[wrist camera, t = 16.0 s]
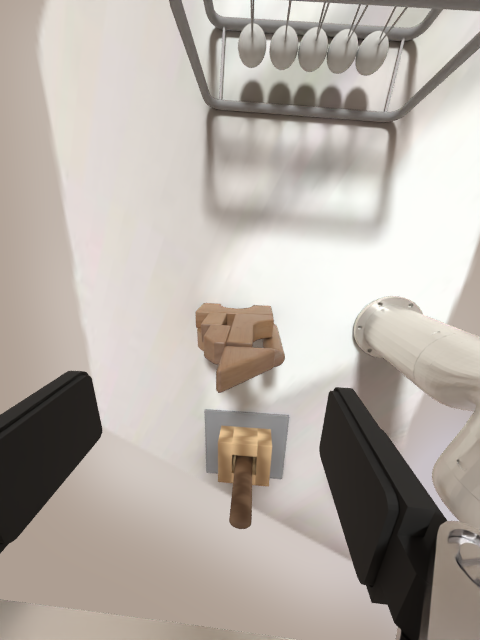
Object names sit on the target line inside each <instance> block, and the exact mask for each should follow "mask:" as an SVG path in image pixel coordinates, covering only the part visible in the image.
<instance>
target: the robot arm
mask: <svg viewBox="0 0 480 640" xmlns="http://www.w3.org/2000/svg"><path fill="white" fill-rule="evenodd" d="M378 303H379V304H378ZM358 326H359V327H358ZM354 338H355V341H356V343H357V344H358V346H359V347H360V348H361V349H362V350H363V351H364V352H366V353H367V354H369V355H371V356H374V357H378V358H385V359H386V360H387V361H388V362H389V363H390V364H392V365H393V366H394V367H395V368H396V369H397V370H399V371H400V372H401V373H402V374H403V375H405V376H406V377H407V378H408V379H409V380H410V381H412V382H413V383H414V384H415V385H416V386H417V387H419V388H420V389H421V390H422V391H423V392H425V393H426V394H427V395H428V396H430V397H431V398H432V399H434V400H436V401H438V402H439V403H441V404H444V405H446V406H449V407H452V408H457V409H461V410H468V411H474V413H473V414H472V416H471V417H470V418H469V420H468V421H467V423H466V425H465V426H464V427H463V428H462V430H461V431H460V432H459V433H458V435H457V436H456V437H455V438H454V439H453V441H452V442H451V443H450V444H449V446H448V447H447V448H446V449H445V450H444V452H443V453H442V454H441V456H440V457H439V458H438V460H437V461H436V463H435V465H434V467H433V471H432V480H433V484H434V487H435V489H436V491H437V493H438V495H439V496H440V498H441V500H442V501H443V502H444V504H445V505H446V506H447V508H448V509H449V510H450V511H451V512H452V514H454V516H455V517H456V518H457V519H458V520H459V521H460V522H459V521H447V520H446V518H445V517H444V515H443V514H442V513H441V511H440V510H439V508H438V507H437V505H436V504H435V503H434V501H433V500H432V498H431V497H430V495H429V494H428V493H427V491H426V490H425V488H424V487H423V485H422V484H421V483H420V481H419V480H418V479H417V477H416V475H415V474H414V473H413V471H412V470H411V468H410V467H409V465H408V464H407V463H406V461H405V460H404V458H403V457H402V456H401V454H400V453H399V451H398V450H397V448H396V447H395V446H394V444H393V443H392V441H391V440H390V438H389V437H388V436H387V434H386V433H385V432H384V431H383V430H382V429H380V427H379V426H378V424H377V423H376V422H375V420H374V419H373V417H372V416H371V414H370V413H369V411H368V410H367V409H366V407H365V406H364V404H363V403H362V401H361V400H360V398H359V397H358V395H357V394H356V393H355V391H354V390H353V389H352V388H339V387H336V388H335V389H334V391H330V392H329V395H328V401H327V407H326V413H325V418H324V424H323V430H322V435H321V441H320V457H321V460H322V464H323V467H324V470H325V473H326V477H327V480H328V483H329V486H330V490H331V493H332V496H333V499H334V503H335V506H336V509H337V513H338V516H339V519H340V522H341V526H342V529H343V532H344V535H345V539H346V542H347V545H348V548H349V552H350V555H351V558H352V561H353V565H354V568H355V571H356V574H357V577H358V579H359V581H360V583H361V584H363V585H366V586H367V589H368V592H369V595H370V599H371V602H372V603H379V604H387V605H388V607H389V610H390V612H391V615H392V618H393V621H394V623H395V624H396V625H397V626H398V629H397V635H396V640H480V337H479V336H476V335H473V334H471V333H468V332H465V331H463V330H460V329H458V328H455V327H453V326H450V325H448V324H445V323H443V322H440V321H438V320H435V319H433V318H430V317H428V316H425V315H423V314H422V311H421V310H420V308H419V307H418V306H417V305H416V304H415V303H414V302H412V301H411V300H409V299H406V298H403V297H398V296H388V297H383V298H380V299H377V300H375V301H373V302H371V303H370V304H368V305H367V306H366V307H365V308H364V309H363V310H362V311H361V312H360V314H359V315H358V317H357V319H356V321H355V324H354ZM101 434H102V425H101V421H100V416H99V411H98V406H97V402H96V397H95V392H94V387H93V382H92V378H91V377H90V376H89V375H88V373H87V372H82V371H68V372H66V373H64V374H63V375H61V376H60V377H58V378H57V379H56V380H54V381H52V382H51V383H49V384H47V385H46V386H44V387H43V388H41V389H40V390H38V391H37V392H35V393H33V394H32V395H30V396H29V397H27V398H26V399H24V400H23V401H21V402H20V403H18V404H17V405H15V406H13V407H12V408H10V409H9V410H7V411H6V412H4V413H3V414H1V415H0V553H1V552H2V551H3V550H4V548H5V547H6V546H7V545H8V544H9V543H11V542H12V541H14V540H15V539H16V538H17V537H18V536H19V535H20V534H21V533H22V531H23V530H24V529H25V528H26V526H27V525H28V524H29V523H30V522H31V521H32V519H33V518H34V517H35V515H37V513H38V512H39V511H40V510H41V509H42V507H43V506H44V505H45V504H46V503H47V501H48V500H49V499H50V498H51V497H52V495H53V494H54V493H55V492H56V490H57V489H58V488H59V487H60V486H61V484H62V483H63V482H64V481H65V479H66V478H67V477H68V476H69V475H70V474H71V472H72V471H73V470H74V469H75V468H76V466H77V465H78V464H79V463H80V462H81V460H82V459H83V458H84V457H85V456H86V454H87V453H88V452H89V451H90V450H91V448H92V447H93V446H94V445H95V443H96V442H97V441H98V440H99V438H100V437H101ZM0 640H295V639H290V638H283V637H276V636H269V635H261V634H254V633H247V632H240V631H232V630H225V629H218V628H211V627H204V626H196V625H189V624H182V623H174V622H167V621H160V620H153V619H145V618H138V617H130V616H122V615H115V614H107V613H100V612H92V611H85V610H76V609H69V608H61V607H54V606H46V605H39V604H31V603H23V602H15V601H8V600H0Z"/></svg>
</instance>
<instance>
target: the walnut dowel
mask: <svg viewBox="0 0 480 640" xmlns="http://www.w3.org/2000/svg"><path fill="white" fill-rule="evenodd" d="M252 466H253V457H252V456H240V455H236V460H235V470H234V480H233V490H232V500H231V509H230V519H229V521H230V524H231V525H232V526H233V527H235V528H238V529H245V528H248V527H249V526H250V525H251V516H252V514H251V513H252Z"/></svg>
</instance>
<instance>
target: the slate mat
mask: <svg viewBox="0 0 480 640" xmlns="http://www.w3.org/2000/svg"><path fill="white" fill-rule="evenodd" d="M288 423H289V415H277V414H263V413H249V412H235V411H221V410H207V409H205V438H206V472H207V473H217V474H218V440H219V435H220V430H221V426H234V427H247V428H261V429H271V438H272V455H271V466H270V477H269V478H273V479H282V475H283V467H284V458H285V449H286V440H287V432H288Z"/></svg>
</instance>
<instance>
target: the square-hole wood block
mask: <svg viewBox="0 0 480 640" xmlns="http://www.w3.org/2000/svg"><path fill="white" fill-rule="evenodd" d="M236 455H240V456H252V457H253V466H252V485H259V486H269V477H270V466H271V455H272V438H271V429H261V428H247V427H234V426H221V430H220V435H219V440H218V482H226V483H233V480H234V470H235V460H236Z"/></svg>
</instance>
